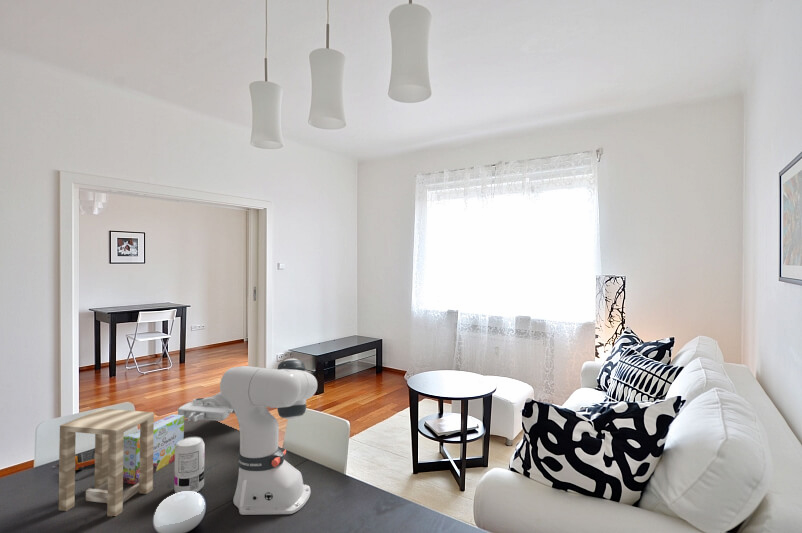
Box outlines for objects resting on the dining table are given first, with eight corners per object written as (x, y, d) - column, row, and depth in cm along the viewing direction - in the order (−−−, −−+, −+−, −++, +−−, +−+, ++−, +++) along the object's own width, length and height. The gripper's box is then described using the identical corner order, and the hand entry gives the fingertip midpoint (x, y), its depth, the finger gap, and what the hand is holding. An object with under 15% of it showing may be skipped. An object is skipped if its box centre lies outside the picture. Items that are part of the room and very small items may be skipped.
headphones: (104, 441, 155) (127, 442, 144) (105, 455, 154) (128, 458, 143) (47, 458, 141) (67, 461, 130) (48, 474, 140) (68, 479, 129)
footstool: (154, 488, 128) (155, 411, 128) (115, 516, 113) (116, 430, 113) (103, 483, 130) (104, 407, 130) (58, 510, 116) (59, 425, 116)
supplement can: (168, 493, 125) (168, 444, 125) (190, 480, 133) (191, 434, 133) (187, 499, 122) (188, 449, 122) (209, 485, 130) (210, 438, 130)
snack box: (136, 485, 129) (136, 438, 129) (121, 483, 131) (121, 436, 131) (184, 455, 150) (184, 414, 150) (171, 453, 151) (171, 412, 151)
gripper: (235, 416, 172) (215, 429, 158) (191, 413, 175) (167, 425, 161) (235, 401, 172) (216, 413, 158) (191, 398, 175) (168, 409, 161)
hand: (191, 419), depth 160 cm, fingers closed
